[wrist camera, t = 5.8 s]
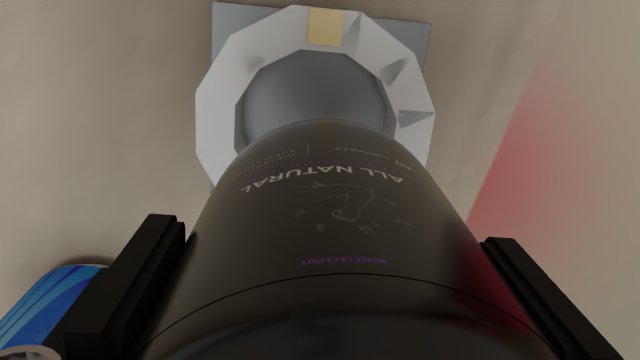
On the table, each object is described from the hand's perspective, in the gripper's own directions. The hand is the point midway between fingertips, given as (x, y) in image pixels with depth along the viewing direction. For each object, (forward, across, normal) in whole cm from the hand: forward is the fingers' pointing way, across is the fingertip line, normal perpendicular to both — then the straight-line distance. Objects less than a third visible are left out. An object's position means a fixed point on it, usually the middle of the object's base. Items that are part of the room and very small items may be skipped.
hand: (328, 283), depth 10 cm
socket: (+18, 0, 0) cm, 18 cm away
